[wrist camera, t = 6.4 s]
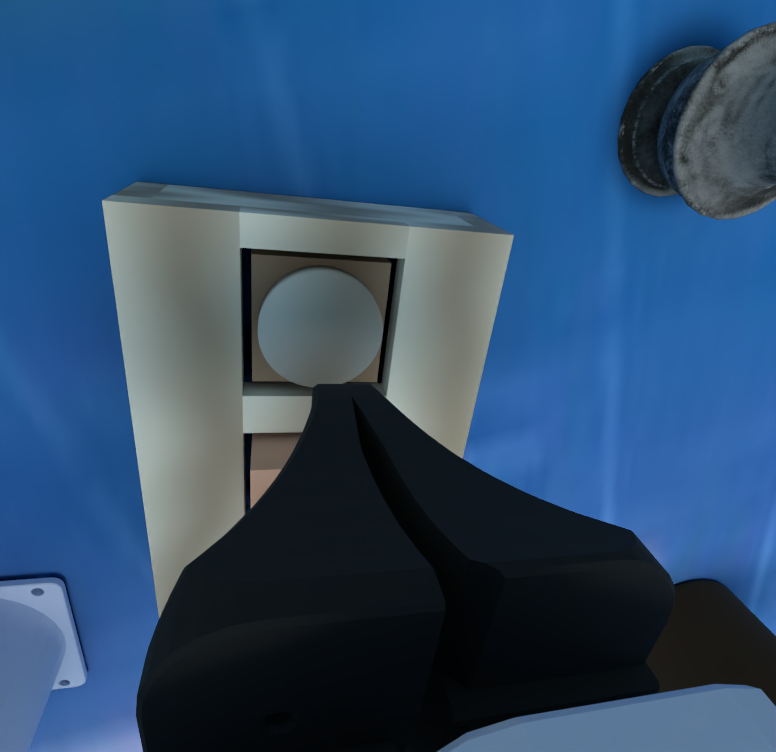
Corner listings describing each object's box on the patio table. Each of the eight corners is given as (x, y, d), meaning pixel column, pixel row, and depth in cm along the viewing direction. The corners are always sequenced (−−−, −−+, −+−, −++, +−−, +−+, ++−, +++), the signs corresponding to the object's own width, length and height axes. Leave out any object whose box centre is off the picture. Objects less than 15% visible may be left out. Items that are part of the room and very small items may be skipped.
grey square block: (179, 591, 26) (165, 666, 22) (137, 181, 17) (101, 200, 13) (403, 572, 28) (421, 636, 25) (471, 212, 19) (514, 235, 16)
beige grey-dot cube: (253, 505, 21) (250, 584, 17) (253, 417, 19) (249, 486, 15) (356, 500, 22) (372, 574, 18) (366, 416, 20) (386, 481, 16)
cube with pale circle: (254, 343, 20) (251, 392, 16) (254, 231, 18) (250, 261, 14) (363, 346, 21) (381, 393, 17) (373, 240, 19) (396, 270, 15)
